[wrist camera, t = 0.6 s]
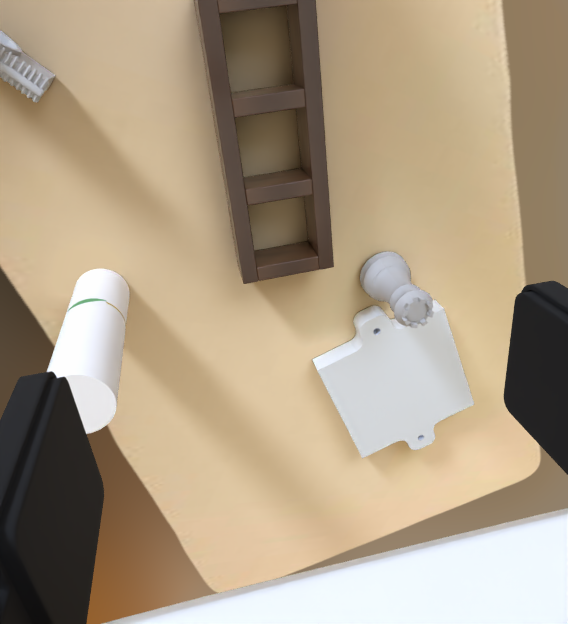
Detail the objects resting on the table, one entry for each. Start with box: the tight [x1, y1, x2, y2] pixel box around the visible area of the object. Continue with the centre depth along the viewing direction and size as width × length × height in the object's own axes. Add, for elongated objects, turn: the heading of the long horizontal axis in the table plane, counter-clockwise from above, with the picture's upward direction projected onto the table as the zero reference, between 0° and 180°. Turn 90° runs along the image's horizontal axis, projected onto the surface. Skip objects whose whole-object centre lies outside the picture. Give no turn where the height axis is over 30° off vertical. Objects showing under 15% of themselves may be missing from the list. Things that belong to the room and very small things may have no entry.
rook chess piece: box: [360, 252, 434, 328], centre depth 45 cm, size 4×4×8 cm
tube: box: [47, 269, 130, 434], centre depth 37 cm, size 4×4×15 cm
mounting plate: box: [312, 299, 474, 458], centre depth 53 cm, size 18×13×2 cm
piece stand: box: [194, 0, 334, 284], centre depth 39 cm, size 7×20×4 cm, turn 6°
